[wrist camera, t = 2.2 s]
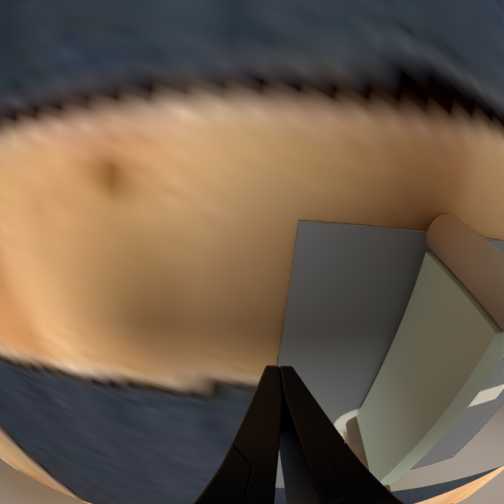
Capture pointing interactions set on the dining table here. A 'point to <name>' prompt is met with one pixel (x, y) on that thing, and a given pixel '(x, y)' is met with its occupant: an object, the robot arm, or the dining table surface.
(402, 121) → the dining table surface
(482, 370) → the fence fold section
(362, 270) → the card
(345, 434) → the fence fixed section
